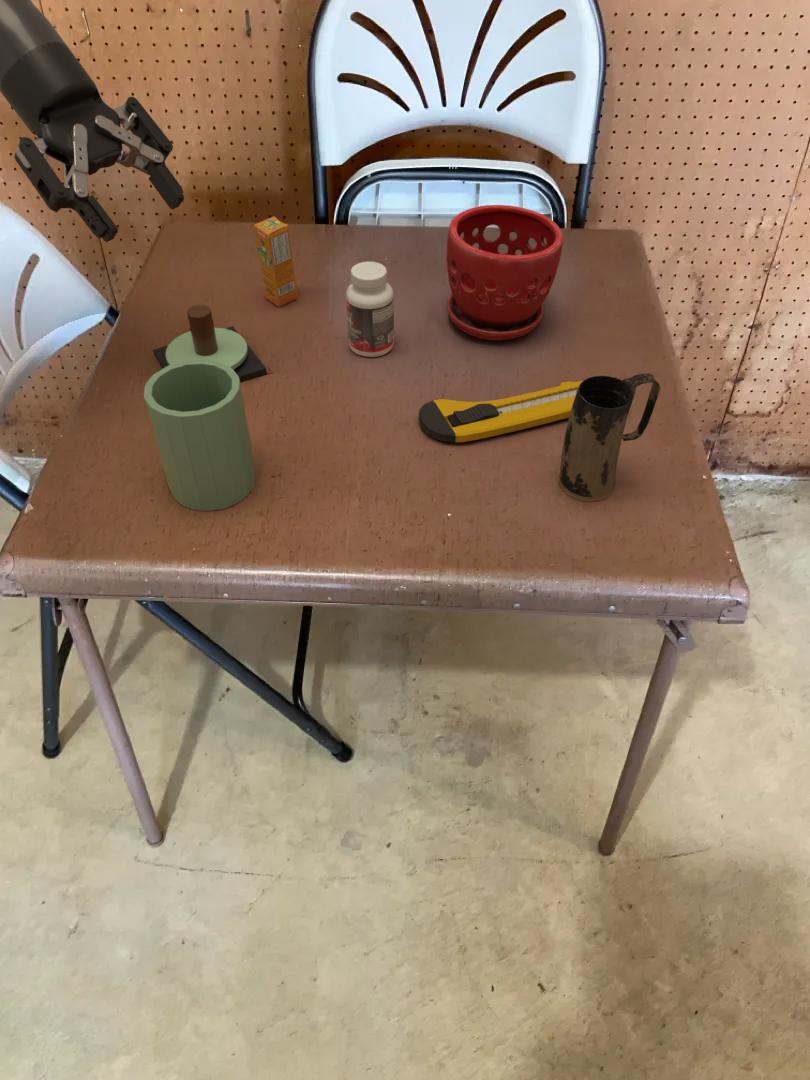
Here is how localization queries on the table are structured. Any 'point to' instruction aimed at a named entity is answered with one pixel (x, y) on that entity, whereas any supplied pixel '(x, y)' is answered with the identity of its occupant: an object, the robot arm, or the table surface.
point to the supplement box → (276, 261)
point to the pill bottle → (370, 310)
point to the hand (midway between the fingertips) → (146, 220)
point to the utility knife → (496, 414)
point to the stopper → (207, 341)
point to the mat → (244, 371)
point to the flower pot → (500, 271)
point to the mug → (600, 434)
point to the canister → (201, 433)
